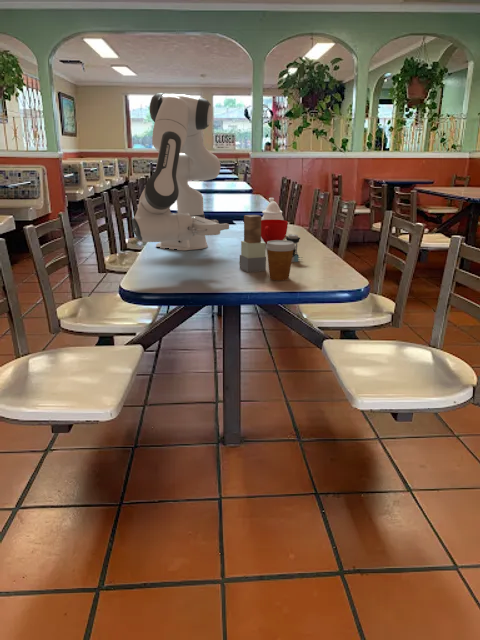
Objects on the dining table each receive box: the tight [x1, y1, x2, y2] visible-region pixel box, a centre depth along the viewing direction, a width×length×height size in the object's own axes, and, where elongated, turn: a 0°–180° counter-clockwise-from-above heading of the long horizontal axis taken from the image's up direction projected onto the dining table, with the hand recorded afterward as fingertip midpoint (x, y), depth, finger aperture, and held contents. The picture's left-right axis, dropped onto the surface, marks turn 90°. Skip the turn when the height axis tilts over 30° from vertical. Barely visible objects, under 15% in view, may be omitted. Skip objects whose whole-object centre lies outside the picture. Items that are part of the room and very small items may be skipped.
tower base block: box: [239, 254, 267, 273], centre depth 176 cm, size 7×7×5 cm
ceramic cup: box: [261, 219, 288, 245], centre depth 223 cm, size 13×17×10 cm
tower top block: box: [240, 240, 267, 258], centre depth 174 cm, size 6×6×5 cm
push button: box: [285, 234, 303, 263], centre depth 188 cm, size 7×5×10 cm
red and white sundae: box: [261, 197, 285, 220], centre depth 245 cm, size 13×13×18 cm
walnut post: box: [243, 214, 262, 243], centre depth 172 cm, size 4×4×9 cm
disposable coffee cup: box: [265, 239, 296, 282], centre depth 163 cm, size 10×10×12 cm
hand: (222, 224), depth 167 cm, fingers open, 8 cm apart
